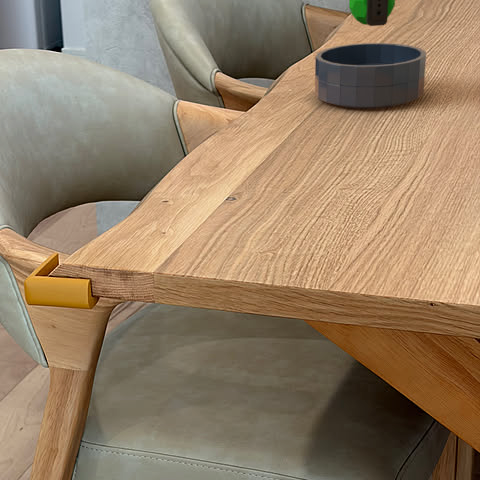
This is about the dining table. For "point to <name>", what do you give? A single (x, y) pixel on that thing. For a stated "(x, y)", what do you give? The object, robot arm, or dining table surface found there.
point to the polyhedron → (360, 6)
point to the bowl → (370, 75)
